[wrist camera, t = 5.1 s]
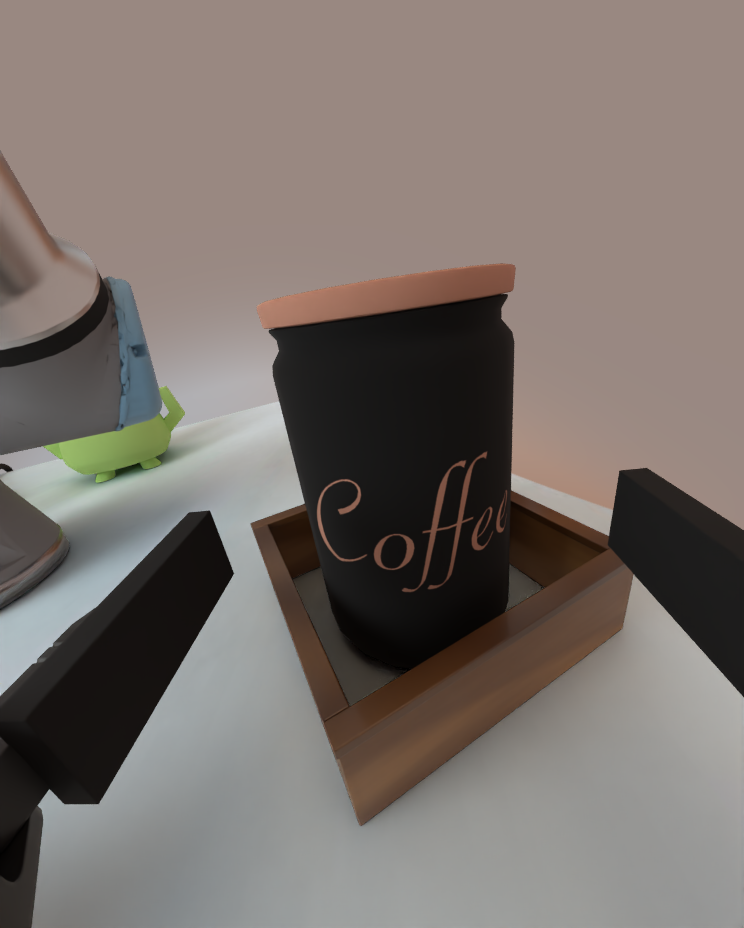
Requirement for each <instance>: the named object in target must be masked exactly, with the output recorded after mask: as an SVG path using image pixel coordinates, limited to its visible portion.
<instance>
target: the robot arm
mask: <svg viewBox="0 0 744 928" xmlns="http://www.w3.org/2000/svg"><path fill="white" fill-rule="evenodd" d="M161 408H162V399H161V395H160V391H159V387H158V383H157V380H156V376H155V372H154V368H153V365H152V361H151V357H150V354H149V350H148V346H147V343H146V339H145V336H144V332H143V328H142V325H141V321H140V317H139V313H138V310H137V306H136V303H135V299H134V296H133V293H132V289H131V286H130V285H129V283H128V282H127V281H125V280H122V279H114V278H112V277H107V278H104V279H103V280H102V278H101V276H100V274H99V273H98V270H97V268H96V266H95V265H94V263H93V262H92V261H91V259H90V258H89V256H88V255H87V253H85V252H84V251H83V250H82V249H81V248H79V247H78V246H76V245H75V244H73V243H72V242H70V241H68V240H66V239H64V238H62V237H59V236H57V235H55V234H52V233H50V232H48V231H47V230H46V228H45V226H44V225H43V223H42V221H41V219H40V218H39V216H38V214H37V213H36V211H35V209H34V208H33V206H32V204H31V202H30V201H29V199H28V197H27V196H26V194H25V192H24V190H23V189H22V187H21V185H20V184H19V182H18V180H17V178H16V177H15V175H14V173H13V172H12V170H11V168H10V166H9V165H8V163H7V161H6V160H5V158H4V156H3V154H2V153H1V151H0V455H4V454H8V453H13V452H18V451H23V450H27V449H32V448H37V447H41V446H46V445H51V444H56V443H60V442H65V441H70V440H74V439H79V438H84V437H88V436H93V435H98V434H103V433H107V432H112V431H120V430H122V429H123V428H124V427H127V426H131V425H134V424H138V423H141V422H145V421H148V420H151V419H153V418H155V417H156V416H157V415H158V414H159V413H160V411H161ZM0 469H4V470H5V471H6V472H10V471H13V469H12V468H10V467H9V466H8V465H5V464H0ZM69 546H70V545H69V541H68V539H67V538H66V536H65V534H64V533H63V531H62V529H61V528H60V526H59V525H58V524H56V523H55V522H54V521H53V520H51V519H50V518H49V517H47V516H46V515H45V514H43V513H42V512H41V511H39V510H38V509H37V508H35V507H34V506H33V505H31V504H30V503H29V502H28V501H26V500H25V499H24V498H22V497H21V496H20V495H18V494H17V493H16V492H14V491H13V490H12V489H10V488H9V487H8V486H6V485H5V484H4V483H3V482H2V481H1V480H0V609H1V608H2V607H4V606H6V605H7V604H9V603H11V602H12V601H14V600H15V599H17V598H18V597H20V596H21V595H23V594H24V593H26V592H27V591H28V590H30V589H31V588H33V587H34V586H35V585H37V584H38V583H39V582H40V581H42V580H43V579H44V578H45V577H46V576H48V575H49V574H50V573H51V572H52V571H53V570H54V569H55V568H56V567H57V566H58V565H59V564H60V563H61V562H62V560H63V559H64V558H65V556H66V554H67V553H68V550H69ZM608 546H609V547H610V548H611V549H612V550H613V551H614V553H615V554H616V555H617V556H618V557H619V558H620V559H621V560H622V562H623V563H624V564H625V565H626V566H627V567H628V568H629V569H630V570H631V572H632V573H633V574H634V575H635V576H636V577H637V578H638V579H639V581H640V582H641V583H642V584H643V585H644V586H645V587H646V588H647V590H648V591H649V592H650V593H651V594H652V595H653V596H654V597H655V598H656V600H657V601H658V602H659V603H660V604H661V605H662V606H663V607H664V609H665V610H666V611H667V612H668V613H669V614H670V615H671V616H672V617H673V619H674V620H675V621H676V622H677V623H678V624H679V625H680V626H681V628H682V629H683V630H684V631H685V632H686V633H687V634H688V635H689V636H690V638H691V639H692V640H693V641H694V642H695V643H696V644H697V645H698V647H699V648H700V649H701V650H702V651H703V652H704V653H705V654H706V655H707V657H708V658H709V659H710V660H711V661H712V662H713V663H714V664H715V666H716V667H717V668H718V669H719V670H720V671H721V672H722V673H723V674H724V676H725V677H726V678H727V679H728V680H729V681H730V682H731V683H732V685H733V686H734V687H735V688H736V689H737V690H738V691H739V692H740V693H741V695H742V696H743V697H744V530H742V529H741V528H739V527H738V526H736V525H735V524H733V523H731V522H730V521H728V520H727V519H725V518H724V517H722V516H721V515H719V514H717V513H716V512H714V511H713V510H711V509H710V508H708V507H707V506H705V505H703V504H702V503H700V502H699V501H697V500H696V499H694V498H693V497H691V496H689V495H688V494H686V493H685V492H683V491H682V490H680V489H679V488H677V487H676V486H674V485H672V484H671V483H669V482H667V481H666V480H665V479H663V478H662V477H660V476H658V475H657V474H655V473H654V472H652V471H651V470H649V469H647V468H643V469H631V470H621V471H619V477H618V483H617V490H616V496H615V503H614V508H613V515H612V521H611V527H610V533H609V540H608ZM233 575H234V572H233V570H232V567H231V565H230V562H229V559H228V557H227V554H226V551H225V549H224V546H223V544H222V541H221V538H220V536H219V533H218V530H217V528H216V525H215V523H214V520H213V517H212V515H211V512H210V511H201V512H190V513H188V514H187V515H186V516H185V517H184V518H183V519H182V520H181V521H180V522H179V523H178V524H177V525H176V526H175V527H174V528H173V529H172V530H171V532H170V533H169V534H168V535H167V536H166V537H165V538H164V539H163V540H162V541H161V542H160V543H159V544H158V545H157V546H156V547H155V548H154V549H153V550H152V551H151V552H150V553H149V554H148V555H147V556H146V557H145V558H144V559H143V560H142V561H141V562H140V563H139V564H138V565H137V566H136V567H135V568H134V569H133V570H132V572H131V573H130V574H129V575H128V576H127V577H126V578H125V579H124V580H123V581H122V582H121V583H120V584H119V585H118V586H117V587H116V588H115V589H114V590H113V591H112V592H111V593H110V594H109V595H108V596H107V597H106V598H105V599H104V600H103V601H102V602H101V603H100V604H99V605H98V606H97V607H96V608H94V609H93V610H92V611H90V612H89V613H87V614H86V615H85V616H83V617H82V618H81V619H79V620H78V621H76V622H75V623H74V624H72V625H71V626H70V627H69V628H68V629H67V630H66V631H65V632H64V633H63V634H62V635H61V636H60V637H59V638H58V639H57V640H56V641H55V642H54V643H53V647H49V648H48V649H47V650H46V651H45V652H44V653H43V654H42V655H41V656H40V657H39V658H38V659H37V663H36V664H32V665H31V666H30V667H29V668H28V669H27V670H26V671H25V672H24V673H23V674H22V675H21V676H20V677H19V678H18V679H17V680H16V681H15V682H14V683H13V684H12V685H11V686H10V687H9V688H8V689H7V690H6V691H5V692H4V693H3V694H2V695H1V696H0V928H31V926H32V917H33V908H34V899H35V890H36V881H37V872H38V863H39V854H40V845H41V836H42V827H43V815H42V810H41V809H40V808H39V807H38V806H37V805H38V804H39V803H40V801H41V800H42V798H43V797H44V795H45V794H46V793H47V791H48V790H49V789H50V790H51V791H52V792H53V793H54V794H55V795H56V796H57V797H58V798H59V799H60V800H61V801H62V802H63V803H64V804H99V803H100V801H101V799H102V798H103V796H104V794H105V793H106V791H107V789H108V787H109V786H110V784H111V782H112V781H113V779H114V777H115V776H116V774H117V772H118V770H119V769H120V767H121V765H122V764H123V762H124V760H125V758H126V757H127V755H128V753H129V752H130V750H131V748H132V747H133V745H134V743H135V741H136V740H137V738H138V736H139V735H140V733H141V731H142V730H143V728H144V726H145V724H146V723H147V721H148V719H149V718H150V716H151V714H152V712H153V711H154V709H155V707H156V706H157V704H158V702H159V701H160V699H161V697H162V695H163V694H164V692H165V690H166V689H167V687H168V685H169V684H170V682H171V680H172V678H173V677H174V675H175V673H176V672H177V670H178V668H179V667H180V665H181V663H182V661H183V660H184V658H185V656H186V655H187V653H188V651H189V649H190V648H191V646H192V644H193V643H194V641H195V639H196V638H197V636H198V634H199V632H200V631H201V629H202V627H203V626H204V624H205V622H206V621H207V619H208V617H209V615H210V614H211V612H212V610H213V609H214V607H215V605H216V603H217V602H218V600H219V598H220V597H221V595H222V593H223V592H224V590H225V588H226V586H227V585H228V583H229V581H230V580H231V578H232V576H233Z"/></svg>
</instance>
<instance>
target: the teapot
mask: <svg viewBox="0 0 744 928" xmlns="http://www.w3.org/2000/svg"><path fill="white" fill-rule="evenodd" d="M159 391H160V395H161V398H162V400H163V402H164V404H165V405H166V407H167V409H168V411H169V414H168V415H167V416H166V417H165V418H163V417H162V416H161V414H160V413H159V414H158V415H157V416H156V417H155V418H153V419H151V420H148V421H145V422H141V423H138V424H134V425H131V426H127V427H124V428H123V429H122V430H120V431H112V432H107V433H103V434H98V435H93V436H88V437H84V438H79V439H74V440H70V441H65V442H60V443H56V444H51V445H46V446H43V447H44V448H46V449H47V450H48V451H50V452H51V453H53V454H54V455H55V456H57V457H58V458H59V459H63V460H64V462H65V464H66V465H67V466H68V467H70V468H72V469H73V470H75V471H77V472H79V473H81V474H85V475H87V474H96V473H97V475H96V481H95V482H96V483H99V482H104V481H107V480H110V479H112V478H114V477H115V469H119V468H123V467H127V466H130V465H133V464H137V463H140V464H141V466H142V467H143V469H150V468H153V467H156V466H158V465H160V464H161V462H160V461H159V460H158V459H157V458H156V456H158V455H160V454H162V453H164V452H165V451H166V450H167V448H168V445H169V442H170V438H171V431H172V430H173V429H174V427H175V426H176V425H177V424H178V422H179V421H180V420H181V419H182V417H183V416H184V415H185V412H184V410H183V409H182V408H181V406H180V405H179V403H178V402H177V401H176V399H175V398H174V396H173V395H172V393H171V392H170V390H169V389H168V388H167V386H165V387H161V388H159Z"/></svg>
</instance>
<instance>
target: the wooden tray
mask: <svg viewBox="0 0 744 928" xmlns="http://www.w3.org/2000/svg"><path fill="white" fill-rule="evenodd" d="M251 527H252V530H253V533H254V535H255V538H256V541H257V544H258V546H259V549H260V552H261V555H262V557H263V560H264V563H265V566H266V568H267V571H268V574H269V577H270V580H271V582H272V585H273V588H274V591H275V593H276V596H277V599H278V602H279V604H280V607H281V610H282V613H283V615H284V618H285V621H286V624H287V627H288V629H289V632H290V635H291V638H292V640H293V643H294V646H295V649H296V651H297V654H298V657H299V660H300V662H301V665H302V668H303V671H304V673H305V676H306V679H307V682H308V685H309V687H310V690H311V693H312V696H313V698H314V701H315V704H316V707H317V709H318V712H319V715H320V718H321V720H322V723H323V726H324V729H325V731H326V734H327V737H328V740H329V743H330V745H331V748H332V751H333V754H334V756H335V759H336V762H337V764H338V767H339V770H340V773H341V775H342V778H343V781H344V784H345V787H346V789H347V792H348V795H349V798H350V800H351V803H352V806H353V809H354V811H355V814H356V817H357V820H358V823H359V825H360V826H362V825H363V824H364V823H366V822H367V821H368V820H370V819H371V818H372V817H374V816H375V815H376V814H378V813H379V812H380V811H382V810H383V809H384V808H386V807H387V806H388V805H390V804H391V803H392V802H394V801H395V800H396V799H397V798H399V797H400V796H401V795H403V794H404V793H405V792H407V791H408V790H409V789H411V788H412V787H413V786H415V785H416V784H417V783H419V782H420V781H421V780H423V779H424V778H425V777H427V776H428V775H429V774H431V773H432V772H433V771H434V770H436V769H437V768H438V767H440V766H441V765H442V764H444V763H445V762H446V761H448V760H449V759H450V758H452V757H453V756H454V755H456V754H457V753H458V752H460V751H461V750H462V749H464V748H465V747H466V746H468V745H469V744H470V743H472V742H473V741H474V740H475V739H477V738H478V737H479V736H481V735H482V734H483V733H485V732H486V731H487V730H489V729H490V728H491V727H493V726H494V725H495V724H497V723H498V722H499V721H501V720H502V719H503V718H505V717H506V716H507V715H509V714H510V713H511V712H512V711H514V710H515V709H516V708H518V707H519V706H520V705H522V704H523V703H524V702H526V701H527V700H528V699H530V698H531V697H532V696H534V695H535V694H536V693H538V692H539V691H540V690H542V689H543V688H544V687H546V686H547V685H548V684H549V683H551V682H552V681H553V680H555V679H556V678H557V677H559V676H560V675H561V674H563V673H564V672H565V671H567V670H568V669H569V668H571V667H572V666H573V665H575V664H576V663H577V662H579V661H580V660H581V659H583V658H584V657H585V656H587V655H588V654H589V653H590V652H592V651H593V650H594V649H596V648H597V647H598V646H600V645H601V644H602V643H604V642H605V641H606V640H608V639H609V638H610V637H612V636H613V635H614V634H616V633H617V632H618V631H620V630H621V629H622V628H623V623H624V618H625V613H626V609H627V604H628V599H629V594H630V589H631V585H632V580H633V575H634V574H633V573H632V572H631V570H630V569H629V568H628V567H627V566H626V565H625V564H624V563H623V562H622V560H621V559H620V558H619V557H618V556H617V555H616V554H615V553H614V551H613V550H612V549H611V548H610V547H609V546H608V540H609V536H607V535H605V534H603V533H601V532H599V531H596V530H594V529H592V528H590V527H588V526H586V525H584V524H581V523H579V522H577V521H575V520H573V519H571V518H569V517H567V516H564V515H562V514H560V513H558V512H556V511H554V510H552V509H550V508H547V507H545V506H543V505H541V504H539V503H537V502H535V501H533V500H530V499H528V498H526V497H524V496H522V495H520V494H518V493H515V492H513V491H511V505H510V548H509V563H510V564H511V565H513V566H514V567H516V568H517V569H519V570H520V571H522V572H523V573H524V574H526V575H527V576H529V577H530V578H532V579H533V580H535V581H536V582H537V583H539V584H540V585H542V586H543V587H545V588H544V589H542V590H541V591H539V592H537V593H536V594H534V595H532V596H531V597H529V598H527V599H526V600H524V601H523V602H521V603H519V604H518V605H516V606H514V607H513V608H511V609H509V610H508V611H506V612H505V613H503V614H501V615H500V616H498V617H496V618H495V619H493V620H491V621H490V622H488V623H486V624H485V625H483V626H482V627H480V628H478V629H477V630H475V631H473V632H472V633H470V634H468V635H467V636H465V637H464V638H462V639H460V640H459V641H457V642H455V643H454V644H452V645H450V646H449V647H447V648H445V649H444V650H442V651H441V652H439V653H437V654H436V655H434V656H432V657H431V658H429V659H427V660H426V661H424V662H423V663H421V664H419V665H418V666H416V667H414V668H413V669H411V670H409V671H408V672H406V673H404V674H403V675H401V676H400V677H398V678H396V679H395V680H393V681H391V682H390V683H388V684H386V685H385V686H383V687H382V688H380V689H378V690H377V691H375V692H373V693H372V694H370V695H368V696H367V697H365V698H363V699H362V700H360V701H359V702H357V703H355V704H354V705H352V706H350V705H349V703H348V701H347V699H346V697H345V694H344V692H343V690H342V688H341V685H340V683H339V681H338V679H337V677H336V674H335V672H334V670H333V668H332V666H331V663H330V661H329V659H328V657H327V655H326V652H325V650H324V648H323V646H322V644H321V641H320V639H319V637H318V635H317V632H316V630H315V628H314V626H313V624H312V621H311V619H310V617H309V615H308V613H307V610H306V608H305V606H304V604H303V602H302V599H301V597H300V595H299V593H298V590H297V588H296V586H295V584H294V582H293V578H295V577H297V576H300V575H302V574H304V573H306V572H309V571H311V570H313V569H316V568H318V567H320V566H321V565H320V561H319V557H318V553H317V549H316V545H315V541H314V537H313V533H312V529H311V525H310V521H309V517H308V513H307V509H306V505H305V504H303V505H300V506H297V507H295V508H292V509H289V510H286V511H283V512H281V513H278V514H275V515H272V516H269V517H267V518H264V519H261V520H258V521H255V522H253V523H251Z"/></svg>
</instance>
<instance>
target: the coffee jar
mask: <svg viewBox="0 0 744 928" xmlns="http://www.w3.org/2000/svg"><path fill="white" fill-rule="evenodd" d="M514 279H515V266H514V265H512V264H489V265H477V266H469V267H460V268H452V269H445V270H437V271H428V272H422V273H415V274H410V275H402V276H395V277H389V278H382V279H376V280H370V281H364V282H358V283H353V284H347V285H342V286H335V287H329V288H324V289H319V290H314V291H309V292H304V293H300V294H294V295H289V296H285V297H281V298H277V299H273V300H269V301H265V302H263V303H261V304H260V305H258V306H257V312H258V315H259V318H260V321H261V323H262V326H263V328H264V329H271V328H275V329H271V330H269V333H270V334H271V335H272V336H273V337H274V338H275V339H276V340H277V344H278V348H279V352H278V355H277V357H276V359H275V361H274V364H273V378H274V382H275V386H276V390H277V393H278V397H279V402H280V406H281V410H282V414H283V418H284V422H285V426H286V430H287V434H288V438H289V441H290V445H291V449H292V453H293V457H294V461H295V465H296V469H297V473H298V477H299V481H300V485H301V489H302V493H303V497H304V501H305V505H306V509H307V513H308V517H309V521H310V525H311V529H312V533H313V537H314V541H315V545H316V549H317V553H318V557H319V561H320V565H321V569H322V573H323V577H324V581H325V585H326V589H327V593H328V597H329V601H330V605H331V609H332V612H333V614H334V617H335V619H336V621H337V623H338V626H339V628H340V630H341V632H342V633H343V634H344V635H345V636H346V637H347V638H348V639H349V640H350V641H351V642H353V643H354V644H355V645H356V646H357V647H358V648H359V649H360V650H361V651H362V652H363V653H365V654H367V655H369V656H371V657H374V658H376V659H378V660H381V661H383V662H385V663H388V664H390V665H392V666H395V667H401V668H411V669H413V668H414V667H416V666H418V665H419V664H421V663H423V662H424V661H426V660H427V659H429V658H431V657H432V656H434V655H436V654H437V653H439V652H441V651H442V650H444V649H445V648H447V647H449V646H450V645H452V644H454V643H455V642H457V641H459V640H460V639H462V638H464V637H465V636H467V635H468V634H470V633H472V632H473V631H475V630H477V629H478V628H480V627H482V626H483V625H485V624H486V623H488V622H490V621H491V620H493V619H495V618H496V617H498V616H500V615H501V614H503V613H505V610H506V607H507V603H508V592H509V548H510V505H511V462H512V419H513V417H512V415H513V376H514V339H513V334H512V331H511V330H510V329H509V328H508V326H507V325H506V324H505V323H504V322H503V320H502V319H501V307H502V306H503V304H504V302H505V301H506V299H507V297H508V295H507V294H503V293H507V292H511V291H512V290H513V288H514Z"/></svg>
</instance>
